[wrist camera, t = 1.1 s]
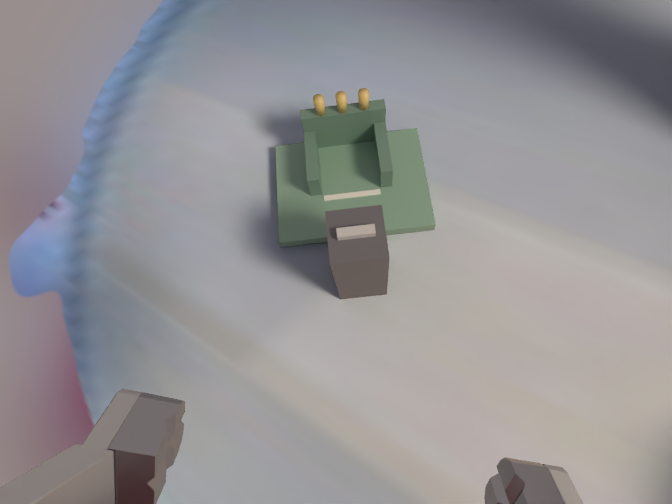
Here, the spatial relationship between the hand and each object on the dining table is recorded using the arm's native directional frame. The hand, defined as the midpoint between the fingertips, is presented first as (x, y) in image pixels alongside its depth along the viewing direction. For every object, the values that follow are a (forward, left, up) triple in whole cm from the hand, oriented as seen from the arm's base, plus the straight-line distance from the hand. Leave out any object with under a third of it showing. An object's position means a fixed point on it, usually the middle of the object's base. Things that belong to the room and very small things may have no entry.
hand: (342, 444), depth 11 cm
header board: (-21, -11, -28) cm, 37 cm away
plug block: (-13, -6, -28) cm, 32 cm away
